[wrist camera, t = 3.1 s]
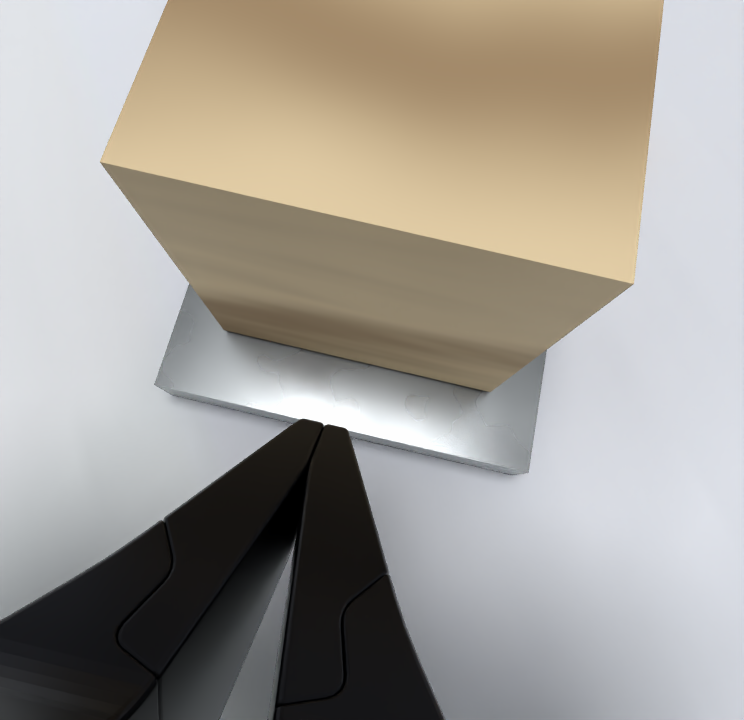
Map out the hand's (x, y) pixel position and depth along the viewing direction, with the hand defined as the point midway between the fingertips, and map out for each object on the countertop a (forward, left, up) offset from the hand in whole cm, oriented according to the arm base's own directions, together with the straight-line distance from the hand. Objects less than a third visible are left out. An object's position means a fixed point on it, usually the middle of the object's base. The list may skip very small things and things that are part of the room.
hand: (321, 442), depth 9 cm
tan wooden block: (+6, 0, -5) cm, 8 cm away
